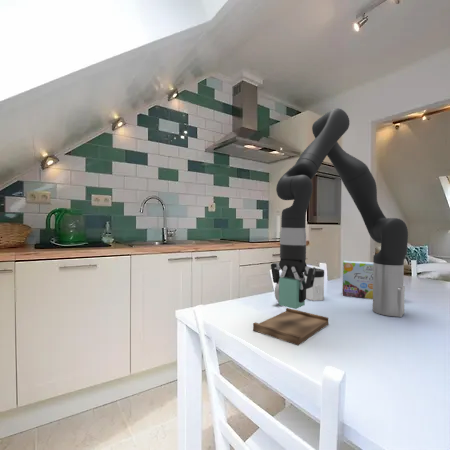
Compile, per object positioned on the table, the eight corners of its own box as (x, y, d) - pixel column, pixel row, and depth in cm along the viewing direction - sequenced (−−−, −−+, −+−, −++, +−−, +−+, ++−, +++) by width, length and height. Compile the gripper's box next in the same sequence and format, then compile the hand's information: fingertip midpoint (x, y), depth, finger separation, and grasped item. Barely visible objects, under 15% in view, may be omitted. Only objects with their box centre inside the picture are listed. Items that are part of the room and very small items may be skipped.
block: (304, 304, 81) (305, 278, 81) (296, 309, 77) (296, 280, 77) (288, 301, 84) (288, 275, 84) (278, 304, 80) (279, 277, 80)
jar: (307, 301, 109) (308, 271, 109) (299, 295, 117) (299, 268, 117) (328, 300, 110) (329, 271, 110) (319, 295, 118) (319, 267, 118)
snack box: (342, 296, 117) (343, 261, 117) (342, 293, 122) (342, 260, 122) (400, 302, 109) (400, 264, 109) (397, 299, 114) (397, 263, 114)
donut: (287, 300, 109) (287, 275, 109) (294, 302, 107) (294, 276, 107) (272, 305, 102) (272, 278, 102) (280, 307, 100) (280, 280, 100)
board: (328, 324, 83) (328, 317, 83) (298, 345, 68) (298, 337, 68) (287, 313, 93) (287, 307, 93) (253, 330, 78) (253, 323, 78)
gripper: (321, 244, 79) (320, 302, 79) (278, 241, 88) (277, 293, 88) (310, 245, 73) (309, 308, 73) (265, 242, 83) (264, 297, 83)
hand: (291, 299), depth 81 cm, fingers closed on block, 5 cm apart
